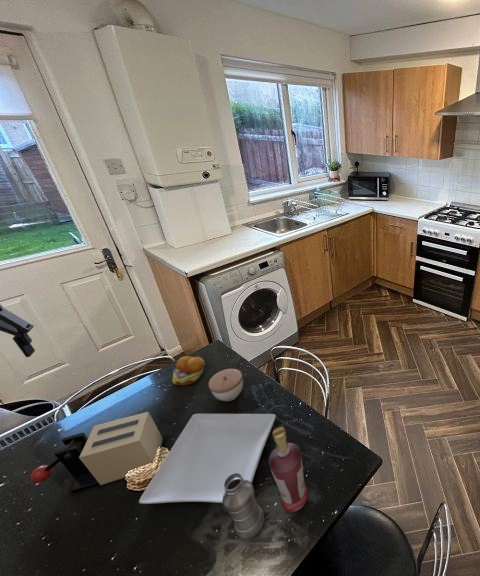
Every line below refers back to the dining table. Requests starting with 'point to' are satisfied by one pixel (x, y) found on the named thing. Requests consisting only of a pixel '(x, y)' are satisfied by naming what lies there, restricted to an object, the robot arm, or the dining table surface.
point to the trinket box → (226, 384)
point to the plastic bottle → (242, 506)
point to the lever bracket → (76, 463)
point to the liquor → (288, 472)
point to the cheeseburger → (188, 370)
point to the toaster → (121, 447)
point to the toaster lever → (50, 465)
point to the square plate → (209, 457)
